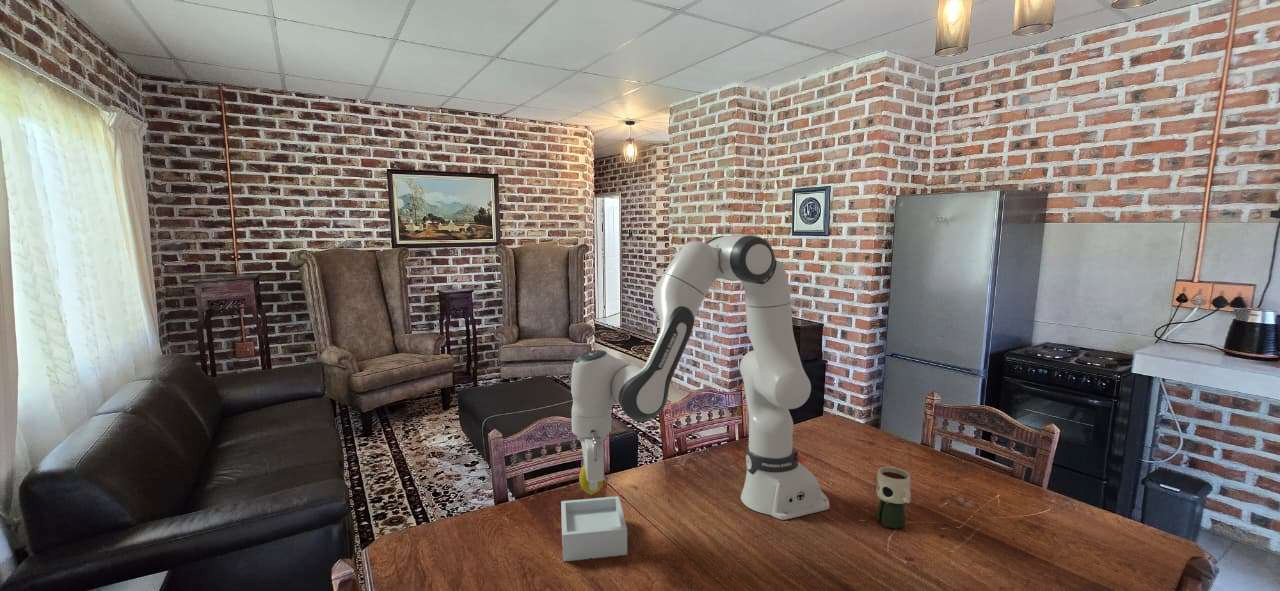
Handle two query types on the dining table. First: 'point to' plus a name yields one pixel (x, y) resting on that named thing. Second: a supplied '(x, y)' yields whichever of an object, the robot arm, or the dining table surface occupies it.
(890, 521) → the character mug
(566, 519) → the white open box
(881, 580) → the dining table surface
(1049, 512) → the dining table surface
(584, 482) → the lemon
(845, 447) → the dining table surface
